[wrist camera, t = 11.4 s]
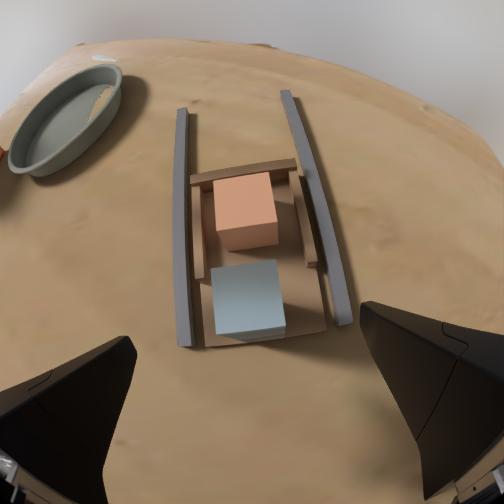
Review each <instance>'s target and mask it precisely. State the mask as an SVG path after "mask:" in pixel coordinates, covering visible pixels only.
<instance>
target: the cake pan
mask: <svg viewBox="0 0 504 504" xmlns="http://www.w3.org/2000/svg"><path fill="white" fill-rule="evenodd" d="M121 82H122V71H121V69H120V68H119V67H118V66H116V65H113V64H101V65H96V66H93V67H90V68H87V69H85V70H82V71H80V72H78V73H76V74H74V75H73V76H71V77H69V78H68V79H66V80H64V81H63V82H62V83H60V84H59V85H57V86H56V87H55V88H54V89H52V90H51V91H50V92H49V93H48V94H47V95H45V96H44V97H43V98H42V99H41V100H40V101H39V102H38V103H37V104H36V106H35V107H34V108H33V109H32V110H31V111H30V113H29V114H28V115H27V116H26V118H25V119H24V121H23V122H22V124H21V125H20V127H19V128H18V130H17V132H16V134H15V136H14V138H13V140H12V143H11V146H10V149H9V153H8V165H9V168H10V170H11V171H12V172H14V173H18V174H23V173H28V174H30V175H33V176H35V177H43V176H47V175H50V174H53V173H55V172H57V171H59V170H60V169H62V168H64V167H65V166H67V165H68V164H70V163H71V162H72V161H74V160H75V159H76V158H78V157H79V156H80V155H81V154H82V153H83V152H85V151H86V150H87V149H88V148H89V147H90V146H91V145H92V144H93V143H94V142H95V141H96V140H97V139H98V138H99V137H100V135H101V134H102V133H103V132H104V131H105V129H106V128H107V127H108V126H109V124H110V123H111V121H112V120H113V118H114V117H115V115H116V113H117V111H118V109H119V106H120V103H121V98H122V95H121V90H120V85H121ZM110 86H114V90H113V91H112V93H111V95H110V96H109V98H108V99H107V101H106V102H105V103H104V105H103V106H102V107H101V108H100V110H99V111H98V112H97V113H96V114H95V115H94V117H93V118H92V119H91V120H90V121H89V122H88V123H87V121H88V119H89V116H90V114H91V112H92V109H93V107H94V105H95V102H96V101H97V100H98V99H99V98H100V97H101V96H100V95H101V94H102V93H103V91H104V90H105V89H107V88H111V87H110Z"/></svg>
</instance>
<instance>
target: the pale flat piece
mask: <svg viewBox="0 0 504 504" xmlns="http://www.w3.org/2000/svg"><path fill="white" fill-rule="evenodd" d="M92 59H93V60H100V61H117V59H114V58H110V57H107V56H104V55H95V56H93V57H92Z"/></svg>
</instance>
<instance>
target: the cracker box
mask: <svg viewBox="0 0 504 504" xmlns="http://www.w3.org/2000/svg"><path fill="white" fill-rule="evenodd" d="M4 152H5V151H4V149H3V148H1V147H0V159H1V157H2V156H3V154H4Z"/></svg>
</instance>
